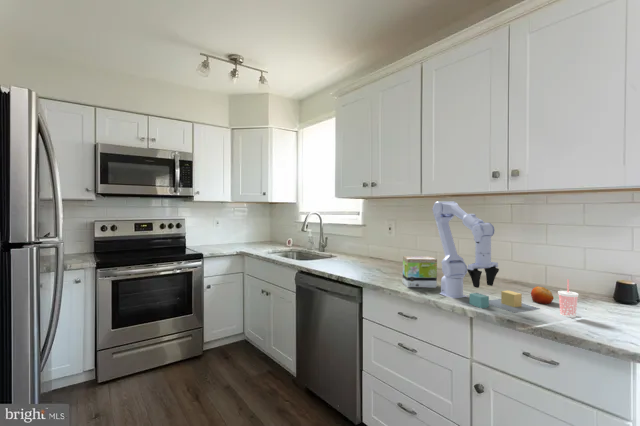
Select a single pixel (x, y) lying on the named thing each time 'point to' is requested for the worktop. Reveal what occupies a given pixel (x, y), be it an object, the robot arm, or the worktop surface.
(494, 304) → the baseplate
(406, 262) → the tea box
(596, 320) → the worktop surface
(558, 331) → the worktop surface
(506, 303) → the mustard brick
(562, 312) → the beverage cup
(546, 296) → the fruit
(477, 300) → the teal brick
